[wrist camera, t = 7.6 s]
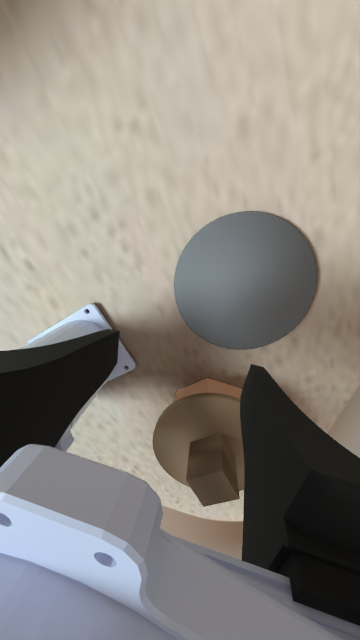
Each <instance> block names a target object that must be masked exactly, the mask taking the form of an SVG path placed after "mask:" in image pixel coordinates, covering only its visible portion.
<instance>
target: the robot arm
mask: <svg viewBox="0 0 360 640" xmlns="http://www.w3.org/2000/svg"><path fill="white" fill-rule="evenodd" d="M87 309H88V310H89V311H90V312H89V313H88V312H87ZM125 366H128V367H129V368H126V367H125ZM135 366H136V364H135V362H134V360H133V359H132V357H131V356H130V354H129V353H128V352H127V350H126V349H125V347H124V346H123V344H122V343H121V341H120V340H119V331H116V330H113V329H112V328H111V327H110V325H109V324H108V322H107V321H106V319H105V318H104V316H103V315H102V313H101V312H100V310H99V309H98V307H97V306H96V305H95V304H93V303H90V304H88V305H86V306H85V307H83V308H82V309H80V310H78V311H77V312H75V313H73V314H72V315H70V316H68V317H67V318H65V319H64V320H62V321H60V322H59V323H57V324H55V325H54V326H52V327H50V328H49V329H47V330H46V331H44V332H42V333H41V334H39V335H37V336H36V337H34V338H32V339H31V340H29V341H28V342H27V345H26V346H24V347H22V348H20V349H18V350H9V351H0V640H360V458H359V457H357V456H356V455H354V454H353V453H351V452H350V451H349V450H347V449H346V448H345V447H343V446H342V445H340V444H339V443H338V442H337V441H335V440H334V439H333V438H331V437H330V436H329V435H328V434H326V433H325V432H324V431H323V430H322V429H320V428H319V427H318V426H317V425H316V424H315V423H314V422H313V421H311V420H310V419H309V418H308V417H307V416H306V415H305V414H304V413H303V412H302V411H301V410H300V409H299V408H298V407H297V406H296V405H295V404H294V403H293V402H292V401H291V400H290V399H289V397H288V396H287V395H286V394H285V393H284V392H283V390H282V389H281V388H280V387H279V386H278V384H277V383H276V382H275V381H274V380H273V378H272V377H271V376H270V374H269V373H268V372H267V371H266V370H265V369H264V367H260V366H256V365H252V364H251V366H250V369H249V372H248V375H247V378H246V381H245V384H244V387H243V390H242V393H241V397H240V421H241V432H242V442H243V452H244V520H243V547H242V560H239V559H236V558H233V557H231V556H228V555H225V554H222V553H219V552H216V551H214V550H211V549H208V548H206V547H203V546H200V545H198V544H195V543H192V542H189V541H186V540H184V539H181V538H178V537H175V536H172V535H170V534H169V533H167V532H165V531H164V530H162V529H160V524H161V519H162V514H163V512H162V506H161V501H160V498H159V496H158V495H157V493H156V492H155V491H154V490H153V489H152V488H151V487H150V486H149V484H148V483H147V482H145V481H143V480H142V479H140V478H138V477H136V476H134V475H132V474H130V473H128V472H125V471H122V470H119V469H116V468H113V467H110V466H107V465H104V464H101V463H98V462H95V461H92V460H89V459H86V458H83V457H80V456H77V455H74V454H71V453H68V452H66V451H67V450H68V448H69V447H70V445H71V444H72V442H73V441H74V438H73V436H72V434H71V431H70V430H71V429H72V427H73V426H74V425H75V423H76V422H77V421H78V419H79V418H80V417H81V415H82V414H83V413H84V411H85V410H86V408H87V407H88V406H89V404H90V403H91V402H92V400H93V399H94V398H95V396H96V395H97V394H98V392H99V391H100V390H101V388H102V387H103V386H104V384H105V383H106V382H108V381H110V380H112V379H114V378H116V377H119V376H121V375H123V374H125V373H127V372H129V371H131V370H133V369H134V368H135Z"/></svg>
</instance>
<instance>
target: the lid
mask: <svg viewBox="0 0 360 640" xmlns="http://www.w3.org/2000/svg"><path fill="white" fill-rule="evenodd" d="M153 449H154V452H155V455H156V458H157V460H158V461H159V463H160V465H161V466H162V467H163V469H164V470H165V471H166V472H167V473H168V474H169V475H170V476H172V477H173V478H174V479H176V480H177V481H179V482H180V483H182V484H184V485H186V486H188V487H191V489H192V490H193V492H194V493H195V494H196V496H197V497H198V499H199V500H200V502H201V503H202V505H203V506H209V505H213V504H218V503H222V502H227V501H232V500H236V499H239V491H241V490H244V452H243V442H242V432H241V421H240V399H239V398H236V397H234V396H230V395H226V394H220V393H198V394H193V395H189V396H186V397H183V398H181V399H179V400H177V401H175V402H174V403H172V404H171V405H170V406H168V407H167V408H166V409H165V410H164V411H163V413H162V414H161V416H160V417H159V419H158V421H157V424H156V427H155V430H154V434H153Z"/></svg>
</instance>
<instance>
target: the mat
mask: <svg viewBox="0 0 360 640" xmlns="http://www.w3.org/2000/svg"><path fill="white" fill-rule="evenodd" d="M316 283H317V268H316V262H315V258H314V255H313V252H312V250H311V248H310V246H309V244H308V242H307V241H306V239H305V238H304V236H303V235H302V234H301V233H300V232H299V231H298V230H297V229H296V228H295V227H294V226H292V225H291V224H290V223H288V222H287V221H285V220H283V219H281V218H280V217H277V216H274V215H271V214H268V213H263V212H255V211H245V212H237V213H232V214H228V215H225V216H223V217H220V218H218V219H216V220H214V221H212V222H210V223H209V224H207V225H206V226H205V227H203V228H202V229H201V230H200V231H199V232H197V233H196V234H195V235H194V236H193V238H192V239H191V240H190V241H189V242H188V244H187V245H186V247H185V249H184V250H183V252H182V254H181V256H180V258H179V261H178V264H177V267H176V272H175V277H174V292H175V298H176V303H177V306H178V308H179V311H180V313H181V315H182V317H183V319H184V320H185V321H186V323H187V324H188V326H189V327H190V328H191V329H192V330H193V331H194V332H195V333H196V334H198V335H199V336H200V337H202V338H203V339H205V340H206V341H208V342H210V343H212V344H215V345H217V346H220V347H224V348H228V349H253V348H258V347H262V346H265V345H268V344H270V343H272V342H275V341H277V340H279V339H280V338H282V337H283V336H285V335H286V334H287V333H289V332H290V331H291V330H292V329H293V328H294V327H295V326H296V325H297V324H298V323H299V322H300V321H301V320H302V318H303V317H304V316H305V314H306V312H307V311H308V309H309V307H310V305H311V302H312V300H313V297H314V294H315V290H316Z"/></svg>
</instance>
